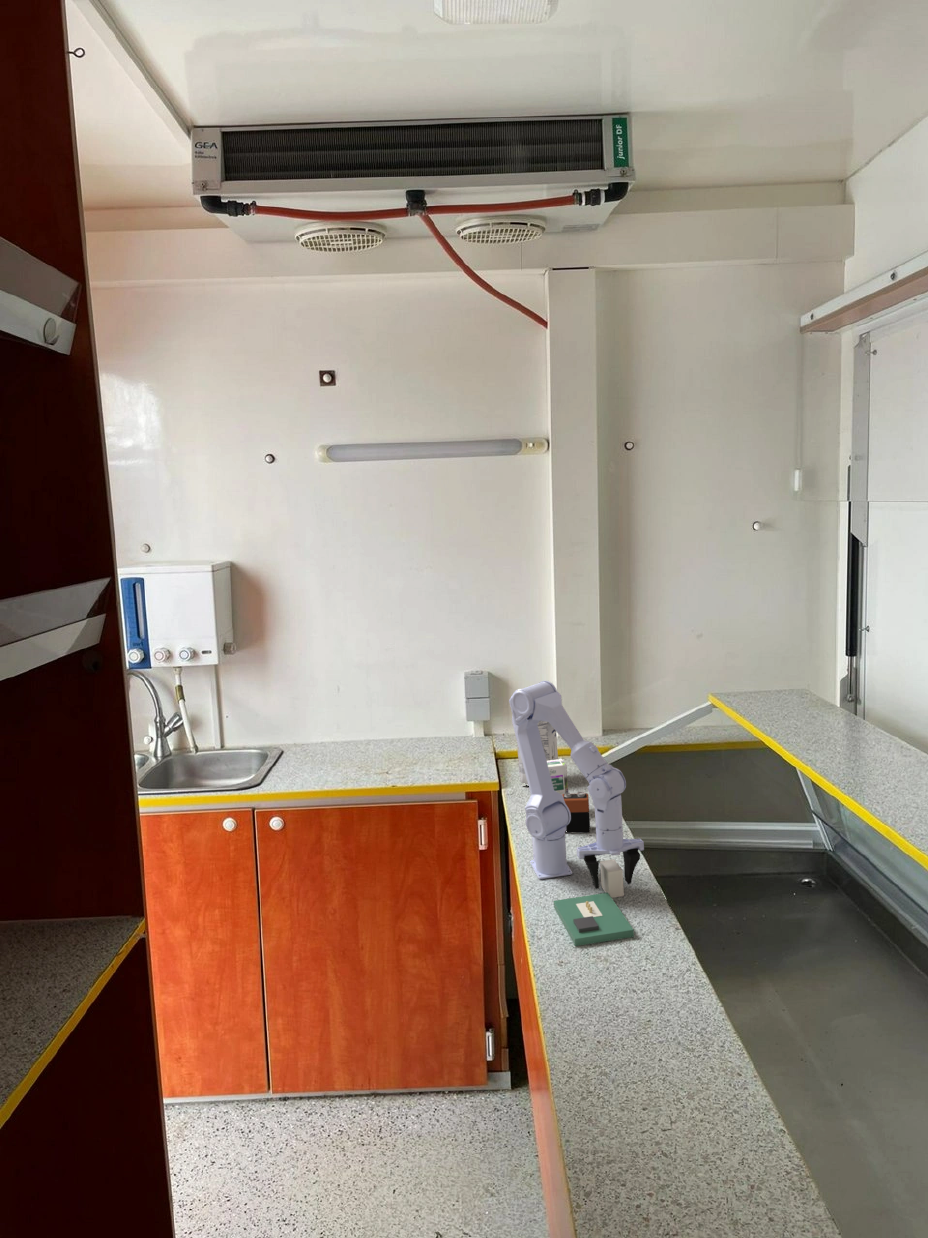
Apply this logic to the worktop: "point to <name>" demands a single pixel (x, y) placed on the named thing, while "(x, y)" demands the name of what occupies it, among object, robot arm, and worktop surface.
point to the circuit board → (593, 919)
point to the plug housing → (612, 878)
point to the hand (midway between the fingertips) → (612, 884)
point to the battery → (578, 812)
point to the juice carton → (548, 744)
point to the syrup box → (558, 775)
